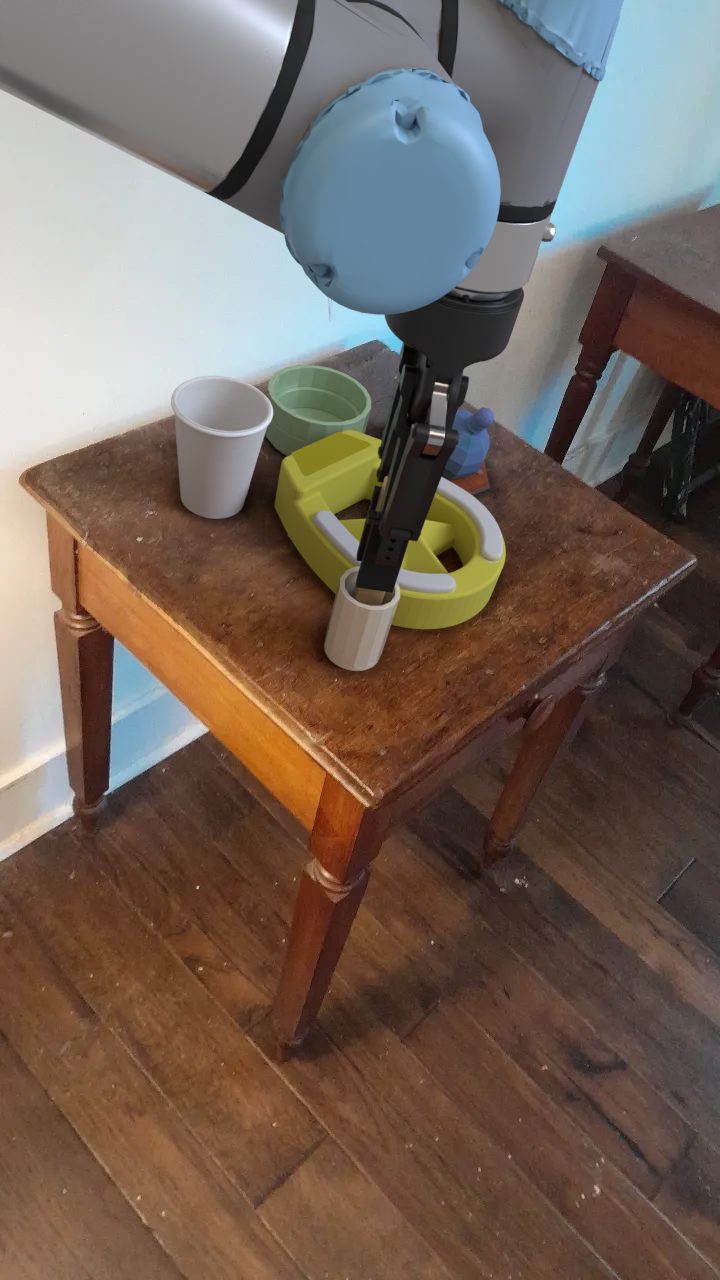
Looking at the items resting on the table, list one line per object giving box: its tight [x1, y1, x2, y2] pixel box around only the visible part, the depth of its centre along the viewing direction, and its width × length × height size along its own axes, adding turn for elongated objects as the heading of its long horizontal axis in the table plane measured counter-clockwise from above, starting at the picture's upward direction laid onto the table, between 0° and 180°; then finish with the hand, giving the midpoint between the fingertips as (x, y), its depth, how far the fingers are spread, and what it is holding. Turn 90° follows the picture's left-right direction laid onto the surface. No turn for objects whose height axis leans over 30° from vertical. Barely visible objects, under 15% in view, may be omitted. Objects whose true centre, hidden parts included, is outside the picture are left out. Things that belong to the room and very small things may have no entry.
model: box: [380, 406, 495, 496], centre depth 92 cm, size 12×9×9 cm
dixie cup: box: [170, 375, 273, 520], centre depth 81 cm, size 8×8×10 cm
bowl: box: [264, 364, 372, 457], centre depth 92 cm, size 10×10×5 cm
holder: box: [323, 566, 400, 672], centre depth 73 cm, size 5×5×7 cm
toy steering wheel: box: [274, 430, 507, 630], centre depth 83 cm, size 16×21×5 cm
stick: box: [352, 476, 388, 606], centre depth 69 cm, size 2×2×16 cm
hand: (374, 572), depth 69 cm, fingers open, 2 cm apart
